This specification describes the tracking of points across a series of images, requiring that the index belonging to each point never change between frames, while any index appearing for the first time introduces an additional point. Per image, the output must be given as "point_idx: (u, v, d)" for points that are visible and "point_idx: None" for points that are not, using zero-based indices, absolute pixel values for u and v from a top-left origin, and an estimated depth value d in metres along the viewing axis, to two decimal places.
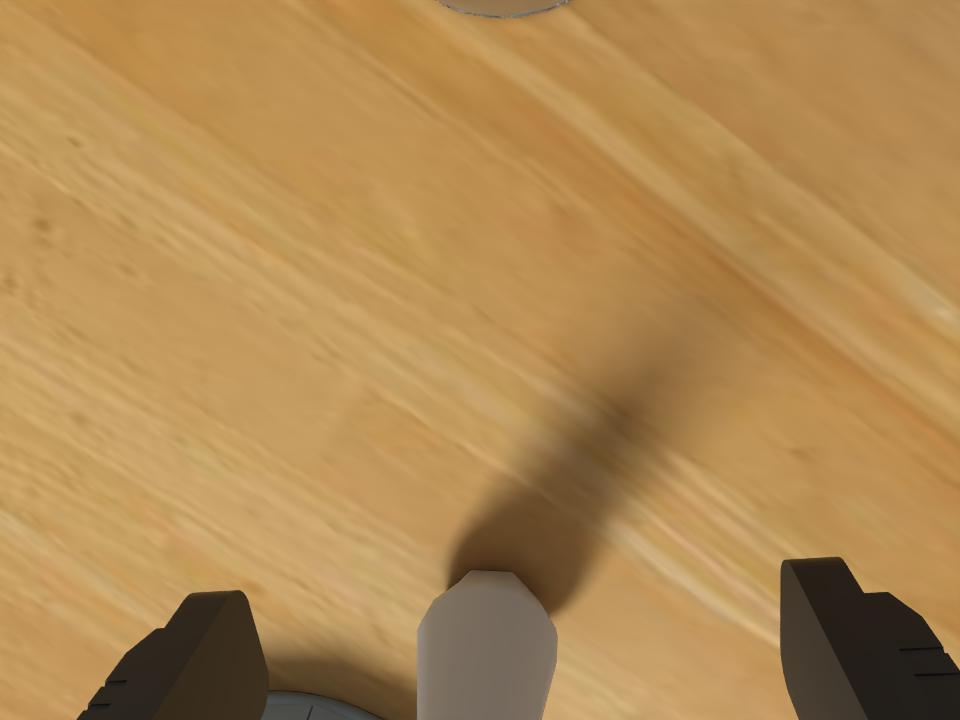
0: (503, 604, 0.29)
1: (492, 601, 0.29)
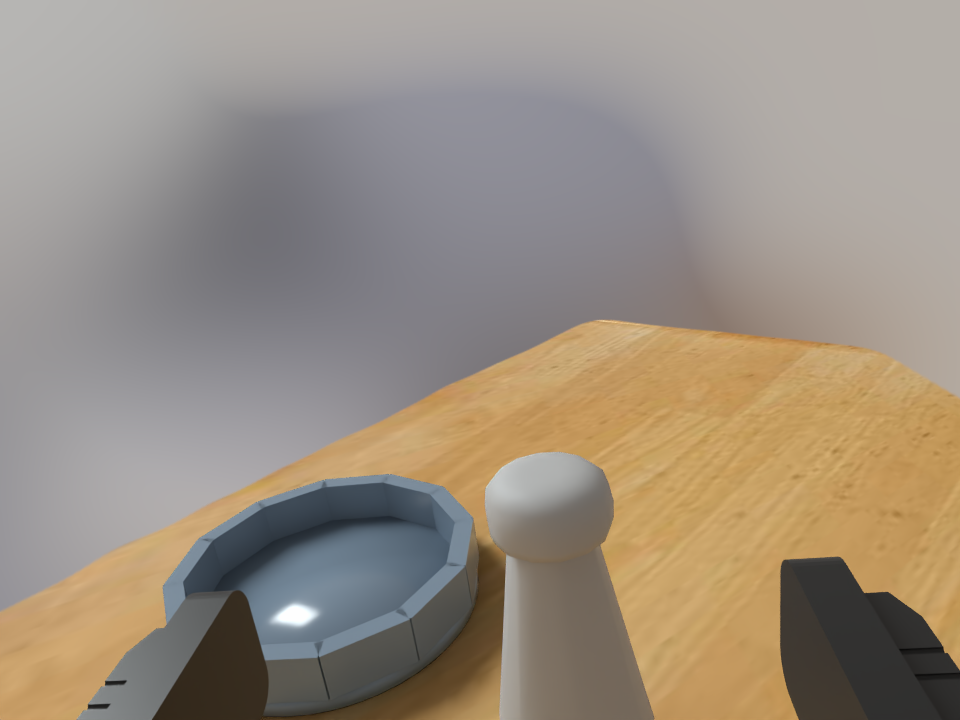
0: None
1: (649, 712, 0.28)
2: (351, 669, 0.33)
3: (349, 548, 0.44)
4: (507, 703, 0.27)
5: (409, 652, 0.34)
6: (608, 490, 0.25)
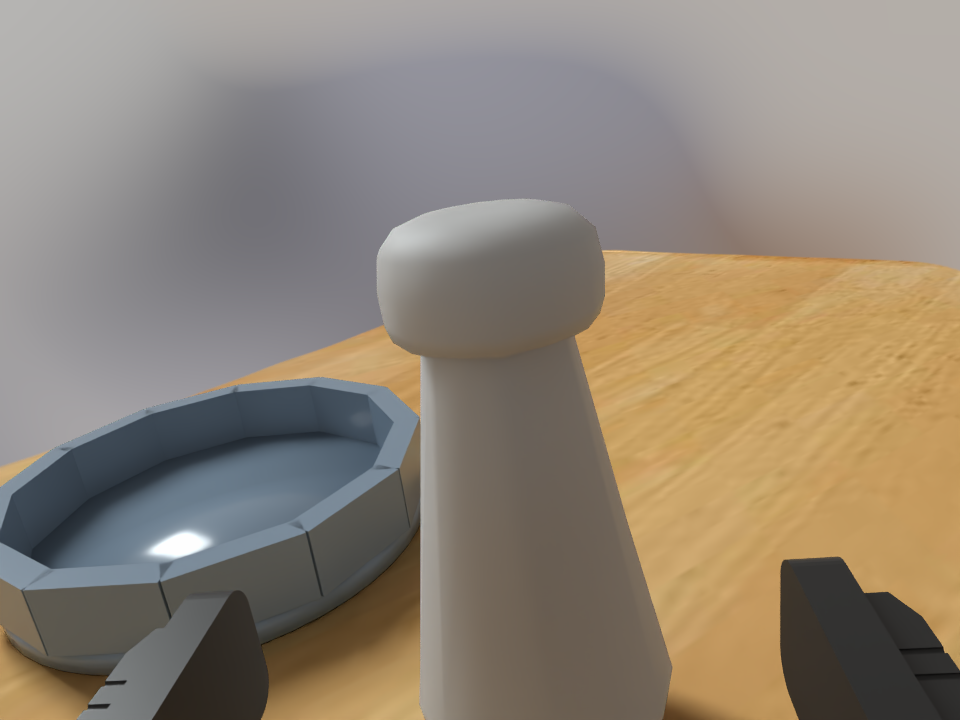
0: (660, 670, 0.16)
1: (664, 656, 0.16)
2: None
3: (259, 466, 0.33)
4: (425, 637, 0.16)
5: (306, 583, 0.23)
6: (595, 238, 0.14)
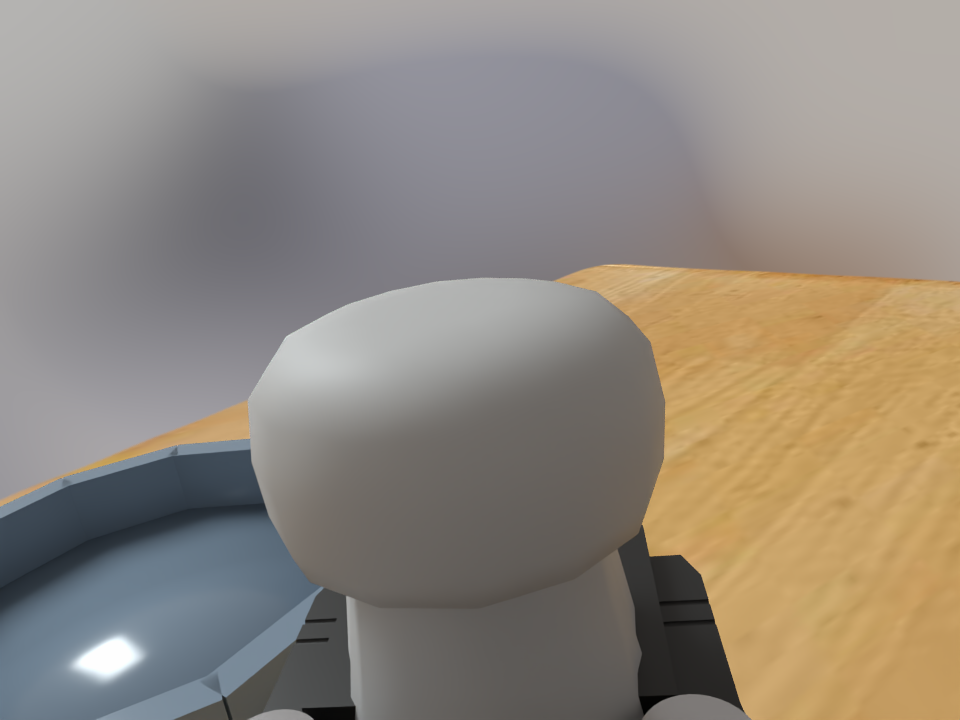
0: None
1: None
2: None
3: (197, 552, 0.27)
4: None
5: None
6: (650, 364, 0.07)
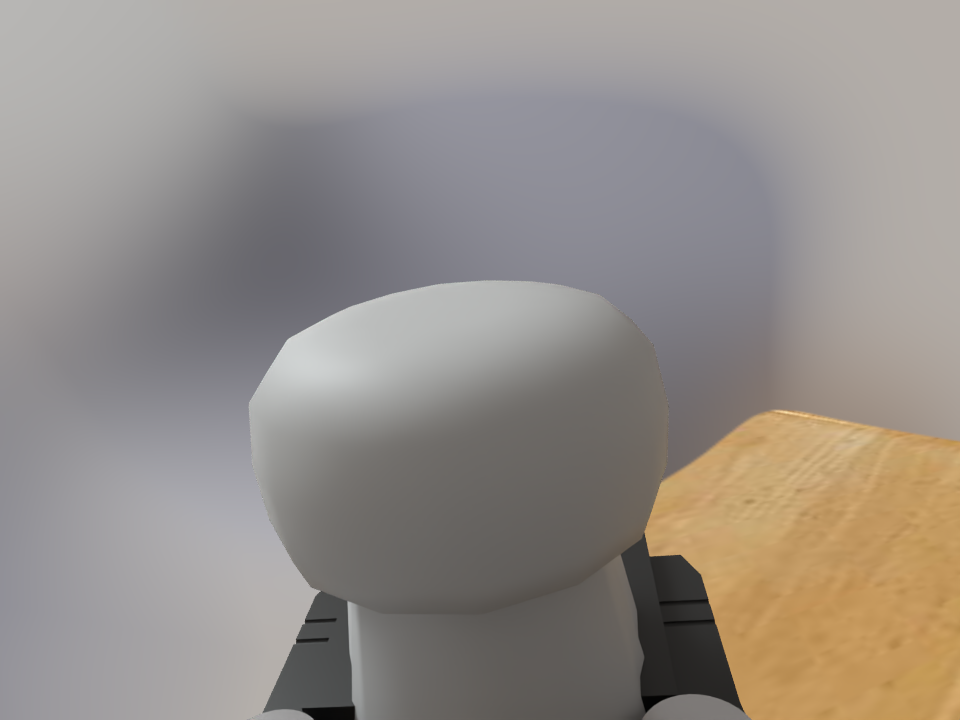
0: None
1: None
2: None
3: None
4: None
5: None
6: (654, 367, 0.07)
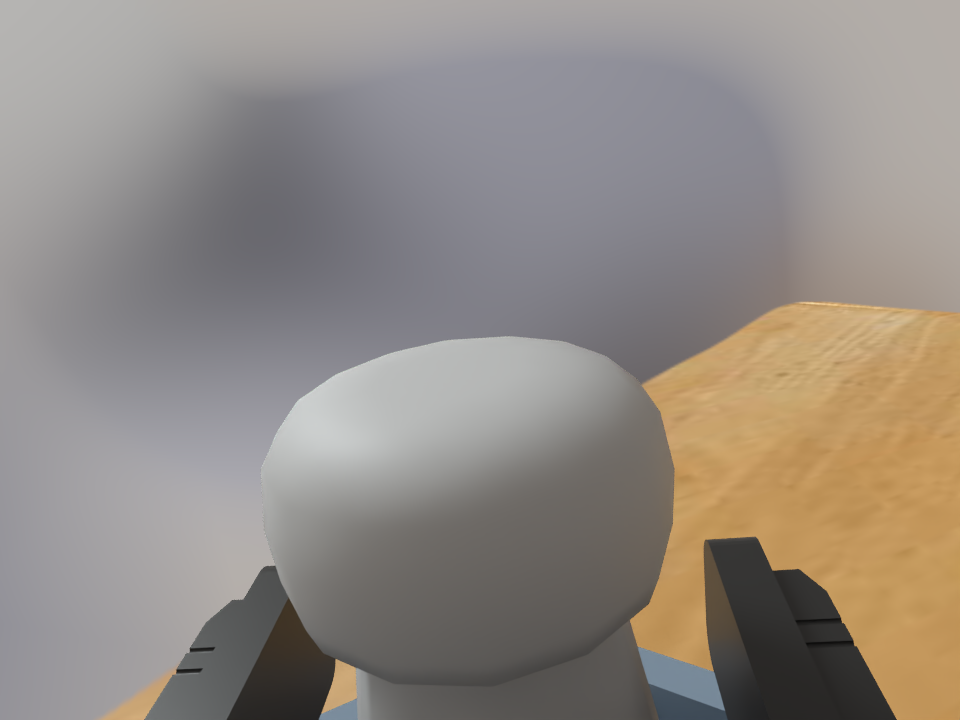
0: None
1: None
2: None
3: None
4: None
5: None
6: (660, 434, 0.07)
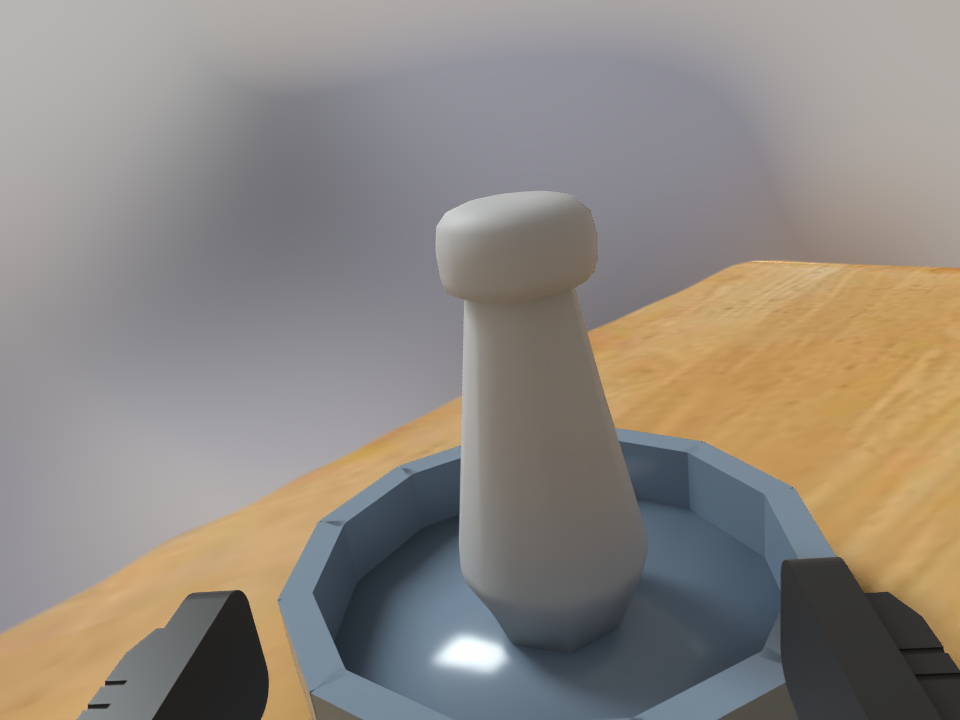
0: (639, 537, 0.22)
1: (642, 529, 0.22)
2: None
3: None
4: (466, 514, 0.22)
5: None
6: (590, 218, 0.19)
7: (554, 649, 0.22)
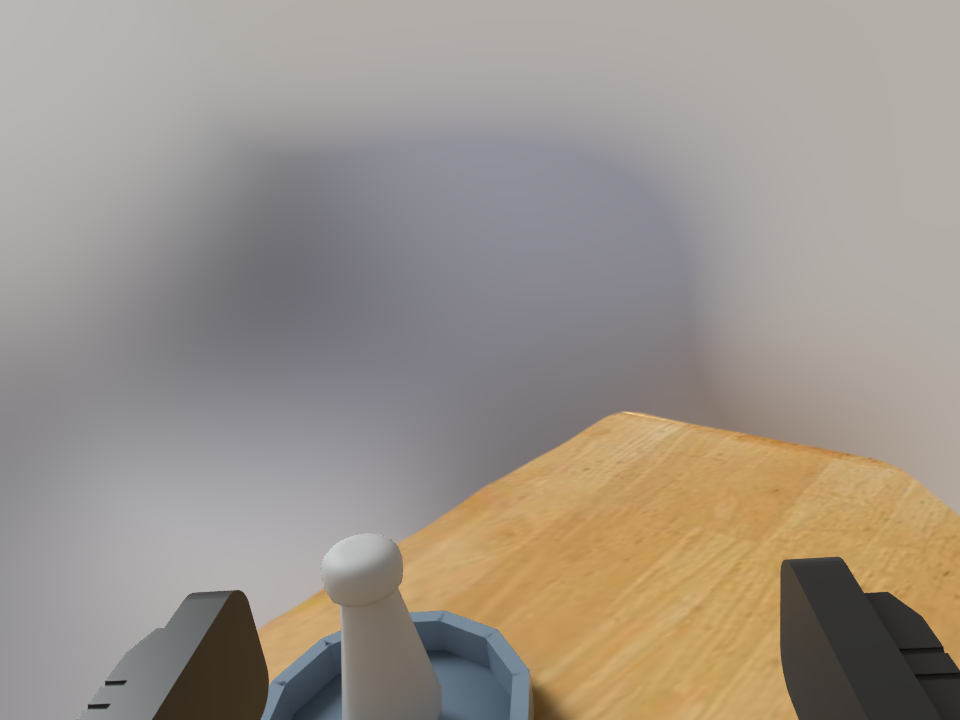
0: (433, 707, 0.42)
1: (436, 701, 0.42)
2: None
3: None
4: (342, 695, 0.42)
5: None
6: (396, 561, 0.39)
7: None
